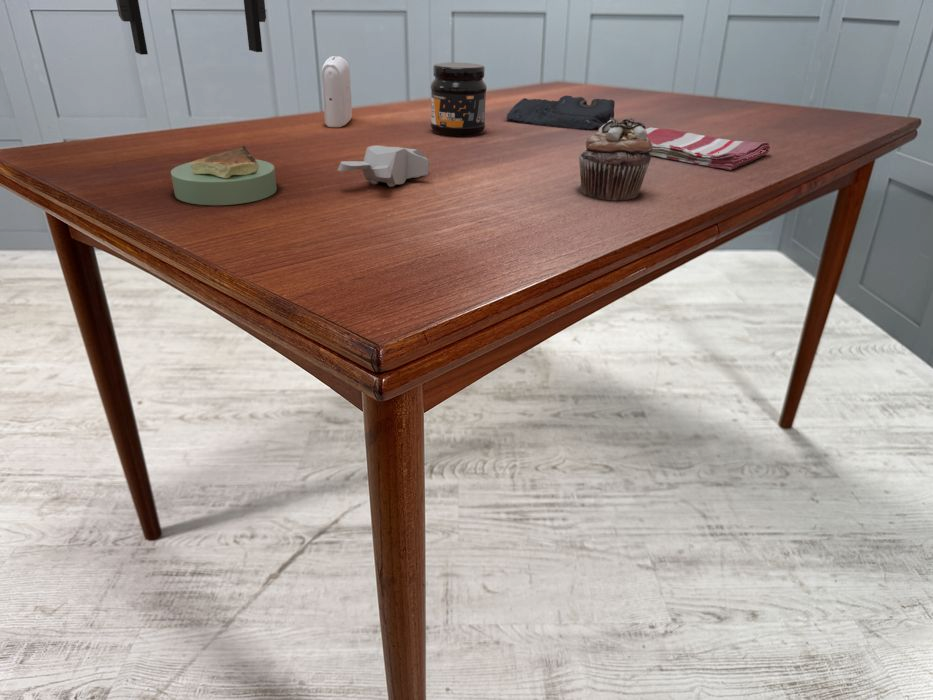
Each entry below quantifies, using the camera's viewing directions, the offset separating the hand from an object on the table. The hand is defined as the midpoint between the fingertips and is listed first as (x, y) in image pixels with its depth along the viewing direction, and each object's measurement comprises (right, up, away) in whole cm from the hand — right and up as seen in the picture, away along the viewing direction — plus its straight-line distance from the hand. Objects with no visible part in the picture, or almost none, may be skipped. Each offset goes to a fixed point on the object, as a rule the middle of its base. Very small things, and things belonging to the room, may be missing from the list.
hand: (201, 52), depth 81 cm
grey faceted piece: (+21, -13, +14) cm, 29 cm away
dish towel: (+72, -1, +38) cm, 81 cm away
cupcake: (+53, -14, +12) cm, 56 cm away
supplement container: (+31, +6, +48) cm, 57 cm away
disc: (0, -15, +8) cm, 17 cm away
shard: (0, -13, +7) cm, 14 cm away
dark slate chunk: (+53, +13, +62) cm, 82 cm away
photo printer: (+7, +9, +53) cm, 54 cm away
